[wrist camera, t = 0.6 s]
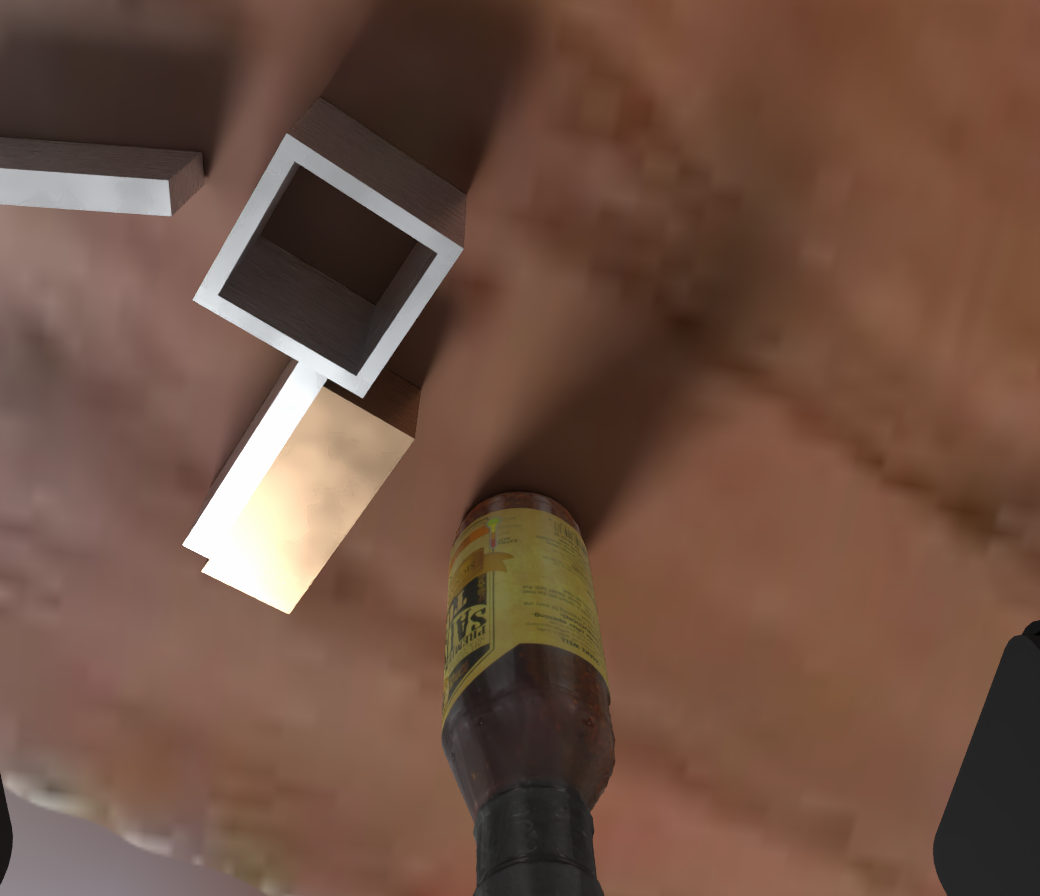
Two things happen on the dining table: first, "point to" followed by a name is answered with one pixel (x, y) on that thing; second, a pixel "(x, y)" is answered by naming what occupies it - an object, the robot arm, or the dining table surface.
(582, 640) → the sauce bottle
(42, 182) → the leaf loose
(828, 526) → the dining table surface
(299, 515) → the hinge base
